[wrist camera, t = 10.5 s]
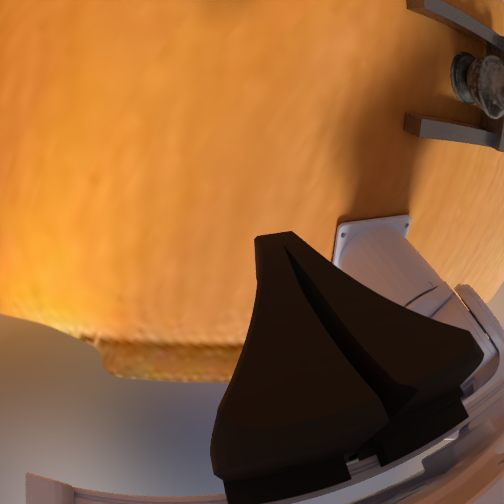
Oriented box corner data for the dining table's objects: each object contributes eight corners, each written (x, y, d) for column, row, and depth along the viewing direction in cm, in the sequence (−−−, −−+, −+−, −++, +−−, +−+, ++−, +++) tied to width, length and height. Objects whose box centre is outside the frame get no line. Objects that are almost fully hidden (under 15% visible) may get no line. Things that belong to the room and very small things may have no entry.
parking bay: (484, 141, 20) (504, 152, 18) (403, 129, 19) (427, 141, 16) (492, 37, 13) (515, 42, 11) (406, -7, 11) (432, -10, 9)
